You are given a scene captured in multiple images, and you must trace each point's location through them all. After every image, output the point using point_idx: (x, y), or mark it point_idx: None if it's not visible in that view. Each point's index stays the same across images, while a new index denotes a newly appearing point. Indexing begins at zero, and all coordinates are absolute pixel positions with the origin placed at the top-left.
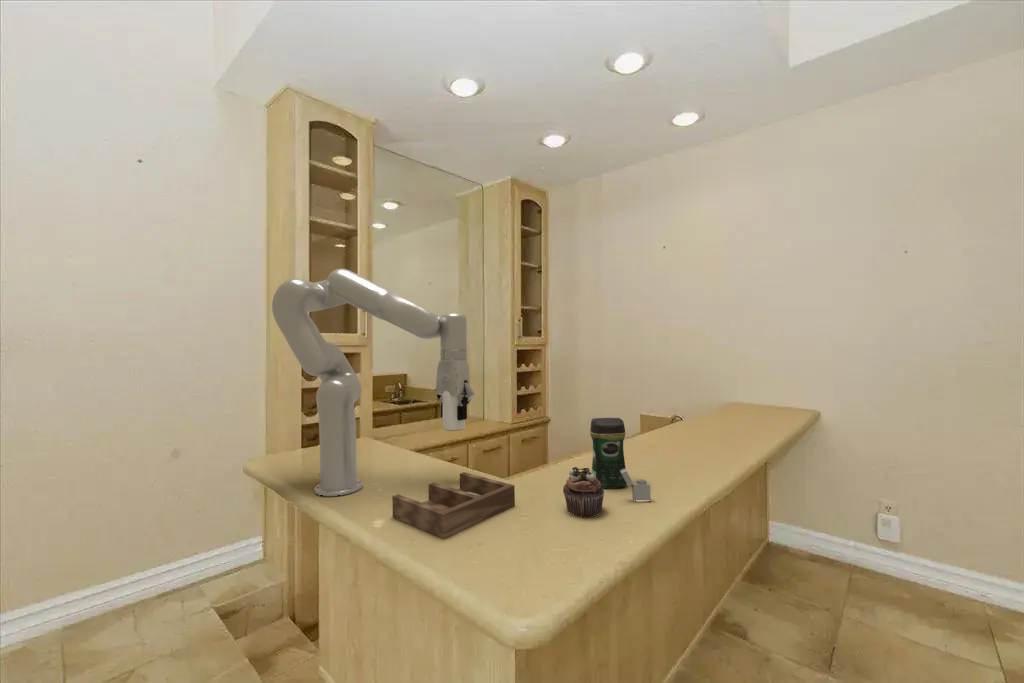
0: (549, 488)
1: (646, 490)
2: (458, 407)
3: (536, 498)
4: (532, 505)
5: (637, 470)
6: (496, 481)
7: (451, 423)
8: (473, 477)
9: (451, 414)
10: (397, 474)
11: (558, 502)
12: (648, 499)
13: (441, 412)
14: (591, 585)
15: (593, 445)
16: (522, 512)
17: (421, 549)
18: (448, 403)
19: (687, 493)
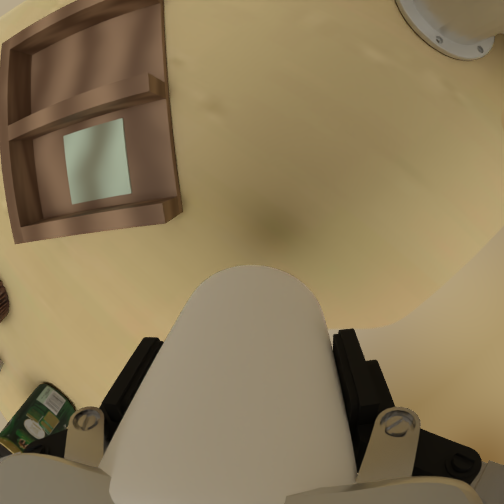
0: (79, 346)
1: None
2: (107, 396)
3: (50, 289)
4: (30, 256)
5: None
6: (48, 233)
7: (192, 298)
8: (104, 211)
9: (172, 334)
10: (457, 169)
11: (23, 297)
12: None
13: (351, 350)
14: None
15: (24, 436)
16: None
17: (33, 14)
18: (162, 392)
19: (6, 406)
